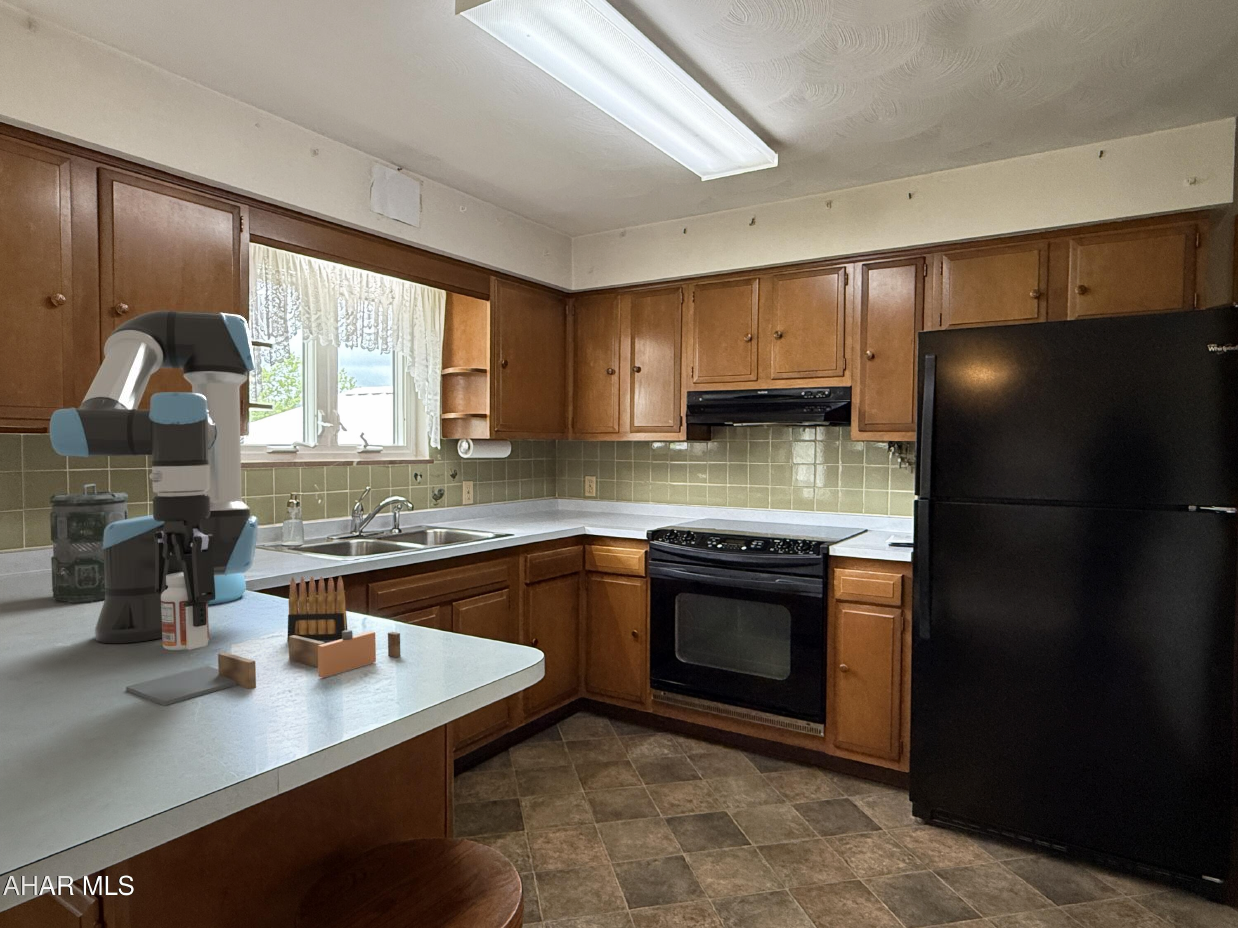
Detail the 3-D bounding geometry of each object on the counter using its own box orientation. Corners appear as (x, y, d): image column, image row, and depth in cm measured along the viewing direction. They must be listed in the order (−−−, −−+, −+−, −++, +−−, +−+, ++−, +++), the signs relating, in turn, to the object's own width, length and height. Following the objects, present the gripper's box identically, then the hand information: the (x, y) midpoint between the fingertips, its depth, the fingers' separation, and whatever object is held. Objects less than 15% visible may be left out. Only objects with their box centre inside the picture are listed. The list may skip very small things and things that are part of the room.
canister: (122, 600, 176) (118, 484, 175) (42, 606, 170) (38, 487, 169) (138, 588, 190) (135, 481, 190) (65, 593, 185) (61, 483, 184)
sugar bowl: (159, 605, 170) (157, 556, 170) (209, 592, 185) (208, 547, 184) (213, 608, 167) (211, 557, 166) (260, 594, 181) (258, 548, 181)
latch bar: (317, 676, 115) (316, 637, 115) (370, 660, 124) (369, 624, 123) (323, 678, 114) (322, 639, 114) (376, 661, 123) (375, 625, 123)
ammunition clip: (348, 637, 140) (346, 575, 139) (345, 639, 138) (343, 576, 137) (291, 638, 139) (289, 576, 139) (287, 641, 137) (285, 578, 137)
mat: (126, 690, 110) (126, 686, 110) (207, 669, 120) (207, 665, 120) (164, 705, 104) (164, 701, 104) (246, 681, 114) (246, 678, 114)
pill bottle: (214, 638, 115) (212, 569, 115) (202, 649, 110) (200, 575, 109) (170, 641, 114) (168, 571, 114) (156, 652, 108) (153, 578, 108)
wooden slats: (218, 678, 115) (217, 653, 115) (346, 643, 135) (346, 622, 135) (271, 695, 107) (271, 669, 107) (400, 655, 127) (400, 633, 126)
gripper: (125, 493, 113) (130, 640, 114) (187, 497, 103) (191, 659, 103) (176, 491, 120) (180, 630, 120) (239, 493, 109) (243, 646, 109)
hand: (185, 643), depth 112 cm, fingers closed on pill bottle, 6 cm apart
